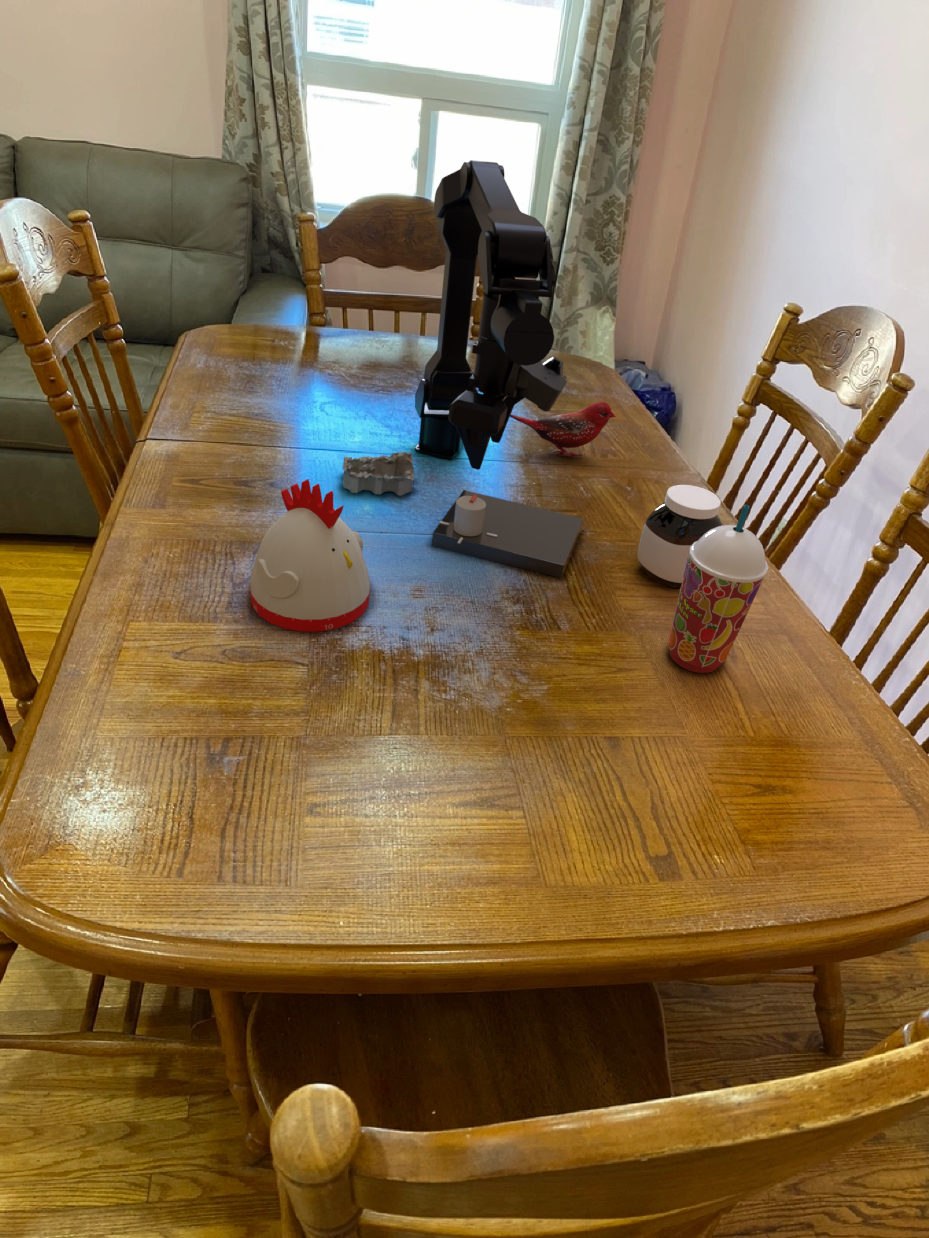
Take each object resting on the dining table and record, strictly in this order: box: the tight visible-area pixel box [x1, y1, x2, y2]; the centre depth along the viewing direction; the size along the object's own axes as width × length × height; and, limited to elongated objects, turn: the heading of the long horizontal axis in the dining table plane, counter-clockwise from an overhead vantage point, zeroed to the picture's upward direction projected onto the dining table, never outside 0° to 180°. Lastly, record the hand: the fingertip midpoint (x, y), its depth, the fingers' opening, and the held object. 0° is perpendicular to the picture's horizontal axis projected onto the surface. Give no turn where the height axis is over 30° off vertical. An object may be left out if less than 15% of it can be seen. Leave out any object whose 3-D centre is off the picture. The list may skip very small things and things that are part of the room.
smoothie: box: [667, 504, 769, 674], centre depth 90 cm, size 8×8×20 cm
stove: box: [431, 489, 584, 579], centre depth 113 cm, size 18×15×2 cm
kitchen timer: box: [249, 478, 371, 633], centre depth 93 cm, size 14×14×15 cm
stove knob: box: [453, 495, 486, 536], centre depth 110 cm, size 4×4×4 cm
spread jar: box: [636, 484, 724, 589], centre depth 109 cm, size 12×11×12 cm
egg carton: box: [341, 451, 415, 497], centre depth 122 cm, size 11×8×4 cm
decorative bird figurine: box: [509, 401, 617, 458], centre depth 136 cm, size 3×18×10 cm, turn 89°
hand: (486, 454), depth 108 cm, fingers open, 9 cm apart
